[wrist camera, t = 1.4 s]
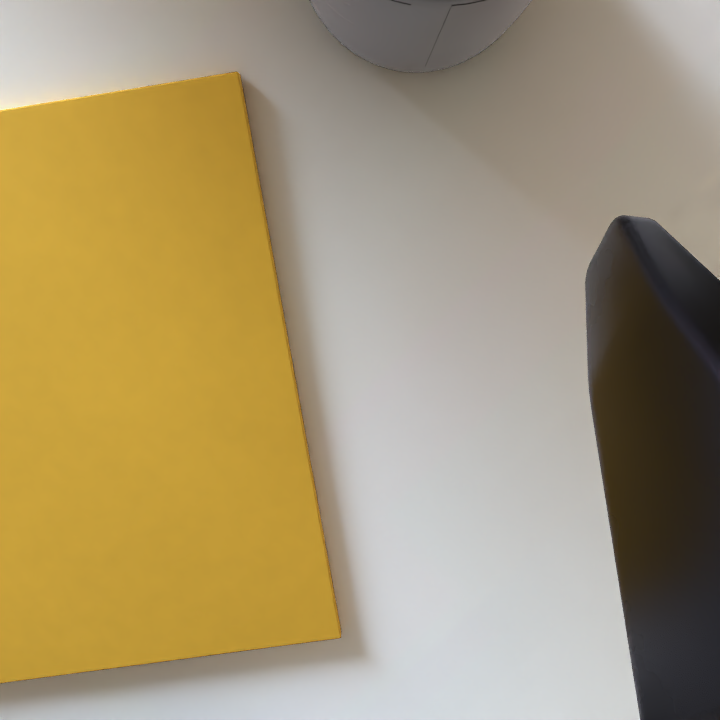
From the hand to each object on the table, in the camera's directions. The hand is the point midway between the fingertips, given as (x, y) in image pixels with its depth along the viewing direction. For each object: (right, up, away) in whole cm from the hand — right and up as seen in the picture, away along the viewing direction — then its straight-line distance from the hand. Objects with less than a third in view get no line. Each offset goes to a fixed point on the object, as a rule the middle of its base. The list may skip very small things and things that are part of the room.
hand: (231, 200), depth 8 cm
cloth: (-8, -4, +15) cm, 17 cm away
